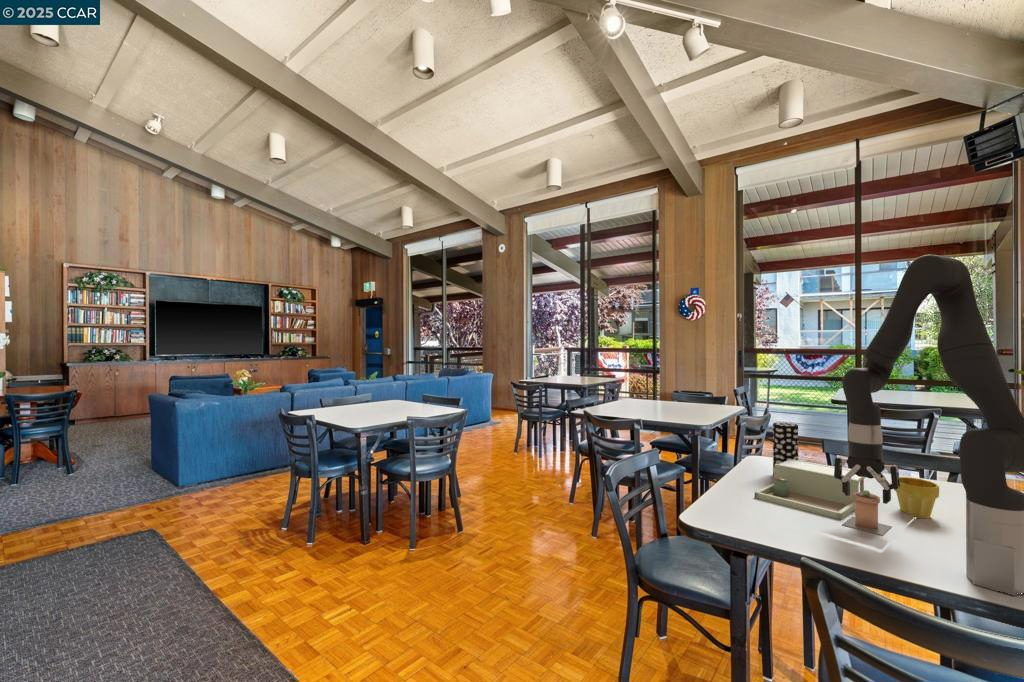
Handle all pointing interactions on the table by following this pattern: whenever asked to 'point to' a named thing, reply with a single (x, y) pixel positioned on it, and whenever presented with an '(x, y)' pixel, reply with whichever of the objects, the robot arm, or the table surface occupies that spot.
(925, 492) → the plant pot
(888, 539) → the table surface
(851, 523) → the slate tile
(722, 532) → the table surface
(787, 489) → the green plastic pot
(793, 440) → the white-spotted black cylinder
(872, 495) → the terracotta pot
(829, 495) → the tray with back shelf
